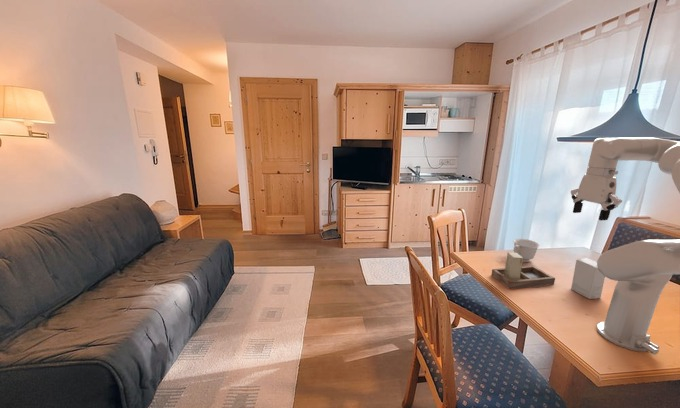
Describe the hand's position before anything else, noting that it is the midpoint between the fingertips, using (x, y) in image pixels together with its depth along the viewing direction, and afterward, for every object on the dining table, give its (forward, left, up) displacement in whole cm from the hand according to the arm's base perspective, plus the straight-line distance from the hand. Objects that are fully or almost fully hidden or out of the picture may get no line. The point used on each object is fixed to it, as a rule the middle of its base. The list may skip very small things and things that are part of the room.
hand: (589, 216), depth 103 cm
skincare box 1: (+16, +13, -36) cm, 41 cm away
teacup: (+34, -8, -36) cm, 51 cm away
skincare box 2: (+2, -10, -36) cm, 38 cm away
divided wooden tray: (+16, +8, -36) cm, 40 cm away
